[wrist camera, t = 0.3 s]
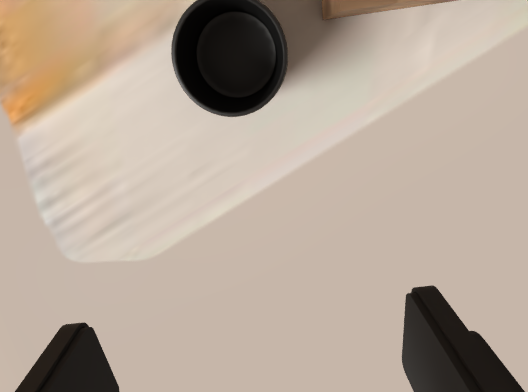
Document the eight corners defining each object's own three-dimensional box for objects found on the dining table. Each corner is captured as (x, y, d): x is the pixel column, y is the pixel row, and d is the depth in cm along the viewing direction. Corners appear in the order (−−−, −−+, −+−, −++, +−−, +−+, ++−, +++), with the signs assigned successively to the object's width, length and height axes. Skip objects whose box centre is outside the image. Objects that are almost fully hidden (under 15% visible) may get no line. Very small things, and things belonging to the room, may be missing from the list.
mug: (287, -21, 32) (297, -46, 24) (277, 105, 37) (282, 120, 29) (190, -29, 32) (166, -57, 24) (192, 99, 37) (173, 113, 28)
